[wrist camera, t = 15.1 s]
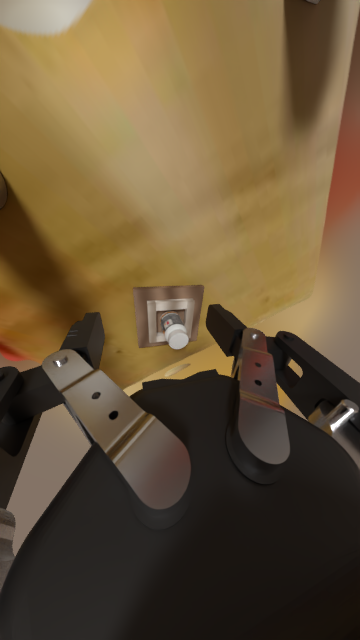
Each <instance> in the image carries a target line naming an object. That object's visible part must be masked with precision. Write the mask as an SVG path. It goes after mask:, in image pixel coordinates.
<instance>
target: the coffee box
mask: <svg viewBox="0 0 360 640" xmlns="http://www.w3.org/2000/svg"><path fill="white" fill-rule="evenodd" d="M306 1H309V2H311V3H314V4H317V3H318V2H319V1H320V0H306Z"/></svg>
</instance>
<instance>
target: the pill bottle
mask: <svg viewBox="0 0 360 640" xmlns="http://www.w3.org/2000/svg"><path fill="white" fill-rule="evenodd" d="M160 325H161V328H162V331H163V334H164V337H165V339H166V341H167V342H168V343H169V345H170V347H171V348H173V349H181V348H183V347H185V346H186V345H187V343H188V340H189V338H188V336H187V330H186V327H185V326H184V324H183V322H182V320H181V318H180V316H179V315H178V313H176V312H174V311H167V312H165V313H164V314H163V315H162V316H161V317H160Z"/></svg>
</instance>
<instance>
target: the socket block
mask: <svg viewBox="0 0 360 640" xmlns="http://www.w3.org/2000/svg"><path fill="white" fill-rule="evenodd" d="M203 292H204V286H203V285H191V286H163V287H134V288H133V294H134V304H135V314H136V324H137V334H138V344H139V348H142V347H150V346H158V345H166V344H169V343H168V342H167V341H166V339H165V337H164V334H163V331H162V328H161V325H160V317H161V316H162V315H163V314H164V313H165V312H167V311H174V312H176V313H178V315H179V316H180V318H181V320H182V322H183V324H184V326H185V327H186V330H187V336H188V338H189V340H188V342H189V341H196V340H197V333H198V326H199V319H200V313H201V306H202V299H203Z"/></svg>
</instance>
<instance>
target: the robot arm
mask: <svg viewBox="0 0 360 640" xmlns="http://www.w3.org/2000/svg"><path fill="white" fill-rule="evenodd" d="M6 199H7V188H6V185H5V181H4V179H3V177H2V175H1V173H0V209H1V208H2V207H3V206H4V204H5V202H6ZM206 327H207V329H208V331H209V332H210V334H211V335H212V336H213V338H214V339H215V341H216V342H217V344H218V345H219V346H220V348H221V349H222V351H223V352H224V353H225V355H226V356H227V357H228V356H234V360H233V365H232V372H231V377H229V376H225V375H219V374H218V372H217V371H216V369H214V370H209V371H202V372H199V373H196V374H194V375H192V376H190V377H187V378H185V379H182V380H177V379H159V380H153V381H148V382H143V383H142V385H143V389H141V390H139V391H137V392H136V393H134V394H132V395H131V396H130V397H129V396H128V395H127V394H125V392H123V391H122V390H121V389H120V388H119V387H118V386H117V385H116V384H115V383H114V382H113V381H112V380H111V379H110V378H109V377H108V376H107V375H106V374H105V373H103V372H102V371H101V370H100V369H99V365H100V360H101V355H102V350H103V345H104V339H105V335H104V329H103V325H102V320H101V316H100V313H99V312H94V313H86V314H85V317H84V319H83V321H77V322H76V323H75V324H74V325H72V327H71V329H70V331H69V332H68V334H67V337H66V338H65V340H64V342H63V344H62V346H61V348H60V350H59V351H57V352H54V353H52V354H51V355H49V356H48V357H46V358H45V359H44V361H43V362H42V365H41V366H39V367H36V368H33V369H29V370H27V371H23V372H19V371H18V369H16V368H15V367H11V366H8V367H2V368H0V640H360V383H359V382H357V381H356V380H355V379H353V378H352V377H351V376H349V375H348V374H347V373H345V372H344V371H343V370H341V369H340V368H339V367H337V366H336V365H335V364H333V363H332V362H331V361H329V360H328V359H327V358H326V357H324V356H323V355H321V354H320V353H319V352H318V351H316V350H315V349H314V348H312V347H311V346H309V345H308V344H307V343H306V342H304V341H303V340H302V339H300V338H299V337H298V336H296V335H295V334H292V333H290V332H286V331H279V332H278V333H277V334H276V337H267V336H265V334H264V333H263V332H261V331H260V330H257V329H254V328H247V327H246V326H245V325H244V324H243V323H242V322H241V321H240V320H238V318H236V317H235V316H234V315H233V314H232V313H231V312H229V311H227V310H225V309H224V308H223V307H222V306H221V305H220V304H213V305H209V307H208V312H207V318H206ZM291 359H293V360H294V361H295V362H296V363H297V364H298V365H299V366H300V367H301V368H302V371H303V375H302V377H301V378H300V377H299V376H298V375H297V374H296V373H295V372H294V371H293V370H292V369H291V368H290V367H289V366H288V364H289V362H290V361H291ZM276 382H277V384H278V385H279V386H280V387H281V389H282V390H283V391H284V392H285V393H286V394H287V396H288V397H289V398H290V399H291V401H292V402H293V403H294V404H295V405H296V407H297V408H298V409H299V410H300V411H301V413H302V414H303V415H304V416H305V417H306V419H307V420H308V421H309V422H308V421H307V420H305V419H303V418H301V417H300V416H298V415H296V414H295V413H293V412H291V411H289V410H288V409H286V408H284V407H283V406H281V405H280V404H279V399H278V391H277V385H276ZM62 403H63V404H64V406H65V407H66V409H67V410H68V412H69V413H70V415H71V416H72V418H73V419H74V420H75V422H76V423H77V425H78V426H79V428H80V429H81V431H82V432H83V434H84V436H85V437H86V439H87V440H88V442H89V443H90V445H91V448H90V449H89V450H88V452H87V453H86V454H85V456H84V457H83V459H82V460H81V461H80V463H79V464H78V466H77V467H76V468H75V470H74V471H73V473H72V474H71V475H70V477H69V478H68V479H67V481H66V482H65V484H64V485H63V486H62V488H61V490H60V491H59V492H58V493H57V495H56V496H55V498H54V499H53V500H52V502H51V503H50V504H49V506H48V507H47V509H46V510H45V511H44V513H43V514H42V516H41V517H40V518H39V520H38V521H37V523H36V524H35V525H34V527H33V528H32V530H31V531H30V532H29V534H28V536H27V537H26V539H25V540H24V542H23V544H22V545H21V548H20V549H19V551H18V553H17V555H16V557H15V556H14V554H13V548H12V544H13V537H14V532H15V525H16V522H15V517H14V515H13V514H12V513H11V512H9V511H7V510H6V508H7V505H8V503H9V500H10V497H11V495H12V492H13V489H14V487H15V484H16V481H17V479H18V476H19V473H20V470H21V468H22V465H23V463H24V460H25V457H26V455H27V452H28V449H29V447H30V444H31V441H32V439H33V436H34V433H35V431H36V428H37V425H38V423H39V420H40V417H41V415H42V412H44V411H46V410H49V409H51V408H53V407H55V406H58V405H60V404H62Z"/></svg>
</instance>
